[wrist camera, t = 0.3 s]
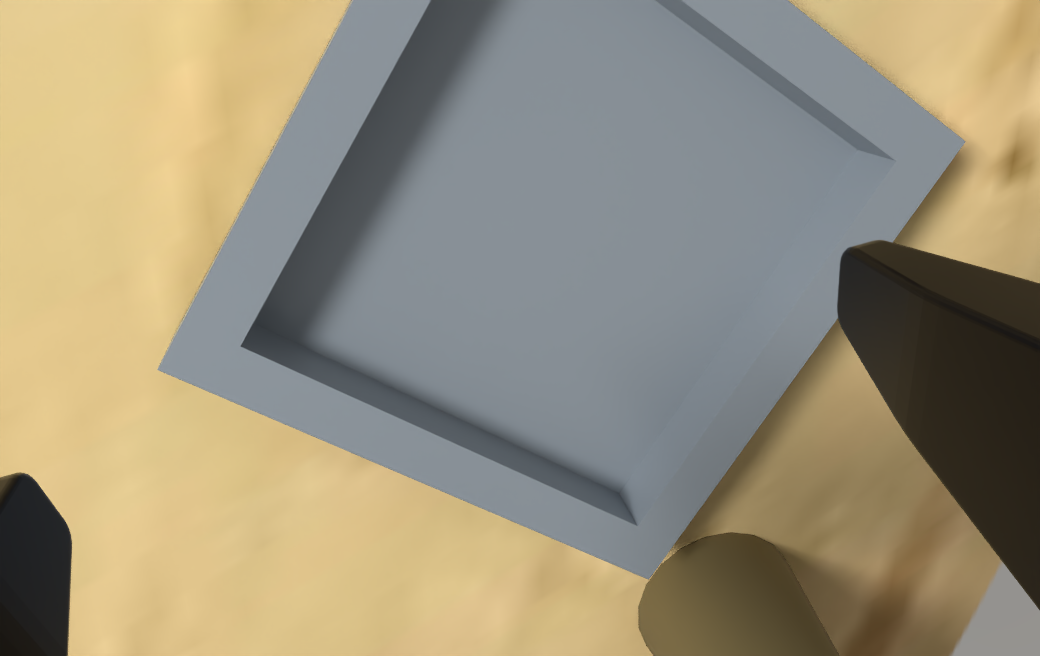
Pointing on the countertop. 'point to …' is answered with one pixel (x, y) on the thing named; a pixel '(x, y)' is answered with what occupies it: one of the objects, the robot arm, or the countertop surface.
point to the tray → (557, 248)
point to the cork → (729, 603)
